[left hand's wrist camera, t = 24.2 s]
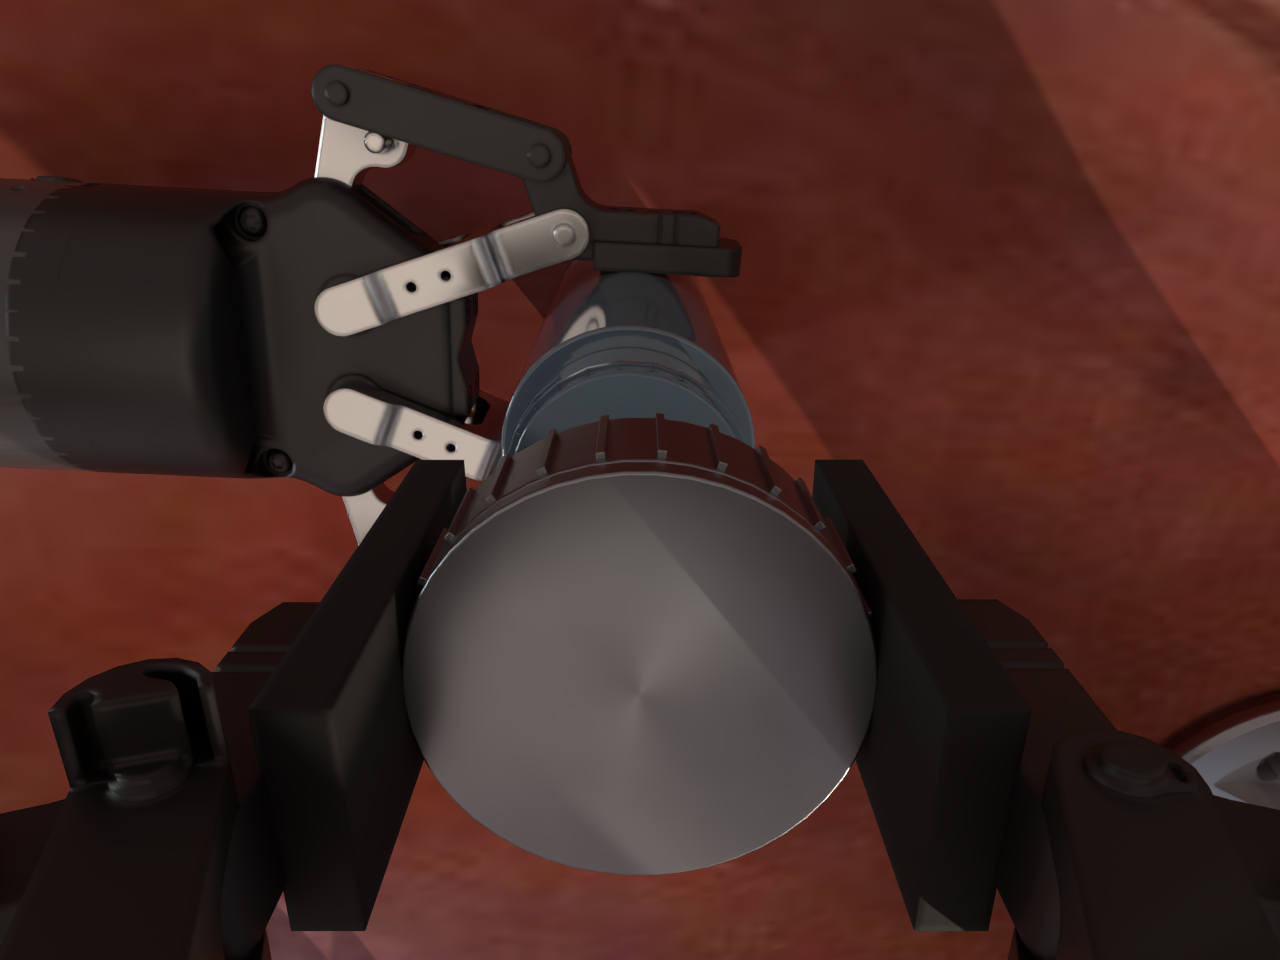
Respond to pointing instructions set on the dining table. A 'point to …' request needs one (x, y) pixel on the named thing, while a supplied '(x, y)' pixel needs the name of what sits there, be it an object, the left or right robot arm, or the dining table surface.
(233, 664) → the left robot arm
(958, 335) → the dining table surface
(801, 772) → the lid
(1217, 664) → the dining table surface
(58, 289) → the right robot arm
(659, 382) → the jar
